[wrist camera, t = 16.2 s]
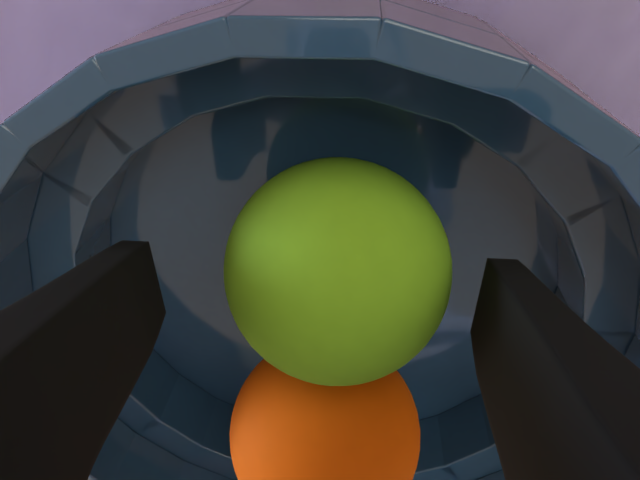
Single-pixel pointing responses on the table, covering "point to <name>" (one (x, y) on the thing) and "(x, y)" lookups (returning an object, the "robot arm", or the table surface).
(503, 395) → the robot arm
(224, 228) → the bowl
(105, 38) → the table surface
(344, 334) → the lime
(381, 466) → the orange
